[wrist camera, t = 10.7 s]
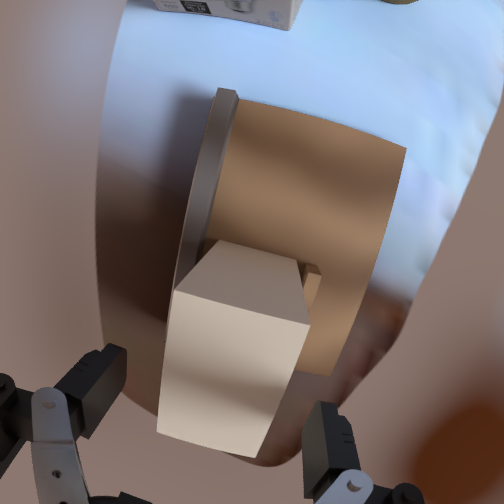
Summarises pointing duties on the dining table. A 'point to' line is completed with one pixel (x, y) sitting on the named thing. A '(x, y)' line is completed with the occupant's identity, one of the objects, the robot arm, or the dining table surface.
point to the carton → (231, 348)
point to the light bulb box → (240, 10)
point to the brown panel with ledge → (294, 207)
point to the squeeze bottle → (400, 1)
